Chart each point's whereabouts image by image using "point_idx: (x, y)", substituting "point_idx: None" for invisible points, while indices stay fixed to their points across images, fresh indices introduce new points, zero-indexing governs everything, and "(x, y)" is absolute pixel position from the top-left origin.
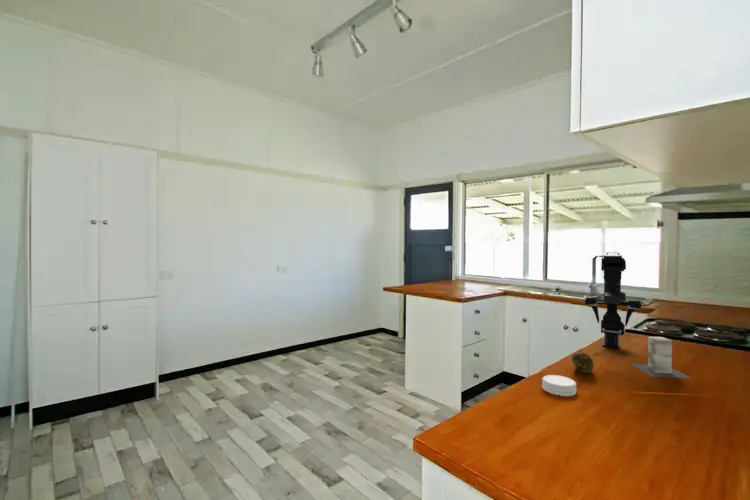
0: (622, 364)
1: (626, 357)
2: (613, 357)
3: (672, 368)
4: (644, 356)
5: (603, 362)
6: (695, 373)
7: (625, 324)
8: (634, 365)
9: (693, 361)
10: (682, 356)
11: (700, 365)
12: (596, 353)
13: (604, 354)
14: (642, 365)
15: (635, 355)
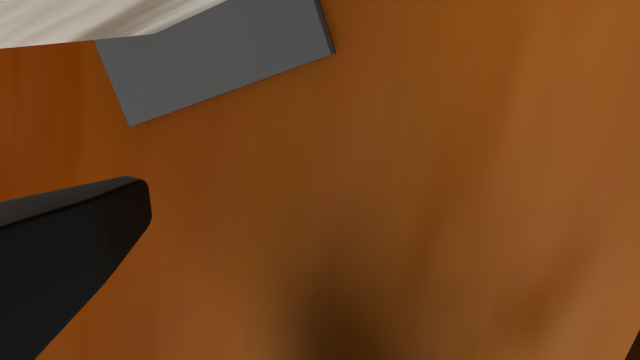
0: (387, 63)
1: (325, 267)
2: (417, 242)
3: (105, 66)
4: (220, 317)
5: (543, 55)
6: (27, 53)
7: (125, 184)
8: (307, 27)
9: None
10: (67, 355)
11: None
12: (535, 321)
13: (471, 307)
14: (254, 56)
15: (265, 327)
